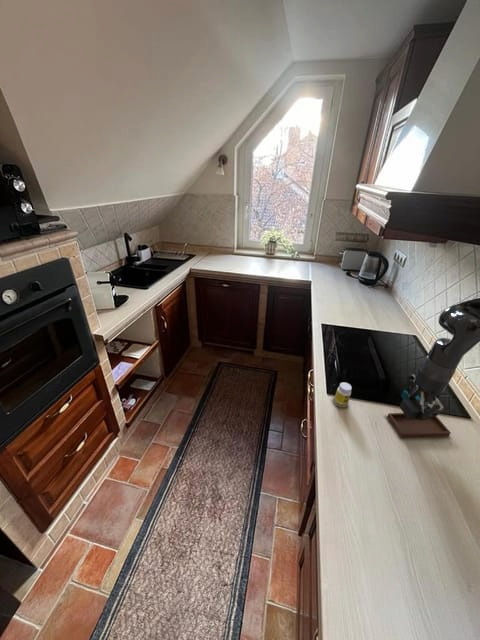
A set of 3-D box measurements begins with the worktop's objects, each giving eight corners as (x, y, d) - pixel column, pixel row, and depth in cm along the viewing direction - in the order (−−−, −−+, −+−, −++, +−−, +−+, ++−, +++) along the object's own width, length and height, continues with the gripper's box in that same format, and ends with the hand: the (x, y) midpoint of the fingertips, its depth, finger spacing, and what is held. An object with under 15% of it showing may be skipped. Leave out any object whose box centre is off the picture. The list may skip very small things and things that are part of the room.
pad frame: (430, 416, 90) (433, 412, 89) (448, 436, 83) (451, 432, 82) (386, 417, 89) (388, 413, 88) (400, 438, 82) (402, 434, 81)
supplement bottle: (342, 409, 91) (348, 393, 87) (331, 401, 95) (336, 385, 90) (349, 403, 94) (355, 386, 90) (338, 395, 97) (343, 379, 93)
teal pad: (416, 395, 98) (420, 389, 96) (425, 406, 94) (429, 399, 92) (400, 396, 98) (403, 389, 96) (408, 406, 93) (412, 399, 92)
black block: (417, 406, 84) (421, 399, 83) (428, 419, 80) (432, 411, 78) (399, 406, 84) (402, 399, 82) (408, 419, 80) (412, 412, 78)
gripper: (468, 390, 67) (440, 431, 76) (430, 356, 80) (410, 395, 88) (441, 391, 67) (416, 432, 76) (407, 356, 79) (390, 395, 88)
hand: (413, 411), depth 82 cm, fingers closed on black block, 5 cm apart
